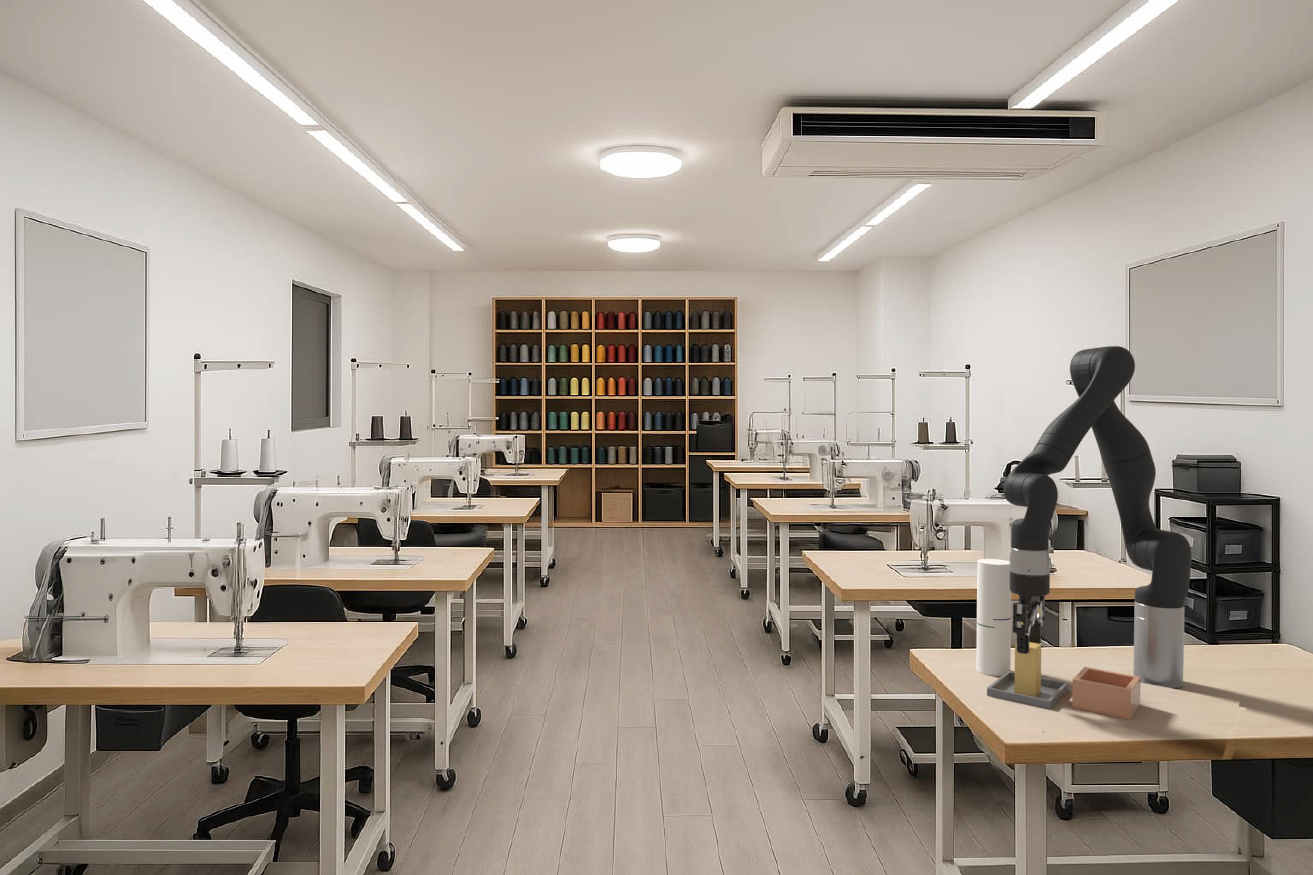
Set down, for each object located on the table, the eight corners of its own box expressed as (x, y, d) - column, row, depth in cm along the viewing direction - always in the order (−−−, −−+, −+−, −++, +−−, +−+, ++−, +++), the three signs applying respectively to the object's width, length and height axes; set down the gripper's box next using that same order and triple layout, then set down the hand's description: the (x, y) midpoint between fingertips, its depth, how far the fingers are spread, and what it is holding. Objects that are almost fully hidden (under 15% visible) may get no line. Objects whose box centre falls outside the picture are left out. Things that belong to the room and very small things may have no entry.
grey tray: (1008, 682, 176) (1008, 670, 176) (1068, 694, 168) (1068, 682, 168) (986, 699, 165) (986, 687, 165) (1050, 714, 157) (1050, 701, 157)
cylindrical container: (1013, 676, 179) (1015, 565, 178) (979, 674, 181) (980, 564, 180) (1006, 666, 186) (1007, 559, 185) (973, 665, 188) (974, 558, 187)
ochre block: (1020, 687, 169) (1020, 640, 169) (1040, 692, 167) (1041, 644, 166) (1014, 692, 166) (1014, 644, 166) (1035, 697, 164) (1035, 648, 163)
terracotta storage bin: (1084, 697, 166) (1084, 666, 166) (1140, 709, 160) (1140, 676, 159) (1072, 711, 158) (1072, 679, 158) (1130, 724, 152) (1130, 690, 152)
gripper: (1039, 578, 158) (1038, 660, 158) (1058, 566, 169) (1057, 643, 169) (999, 573, 162) (999, 653, 163) (1020, 562, 173) (1020, 637, 174)
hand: (1029, 648), depth 166 cm, fingers open, 8 cm apart
